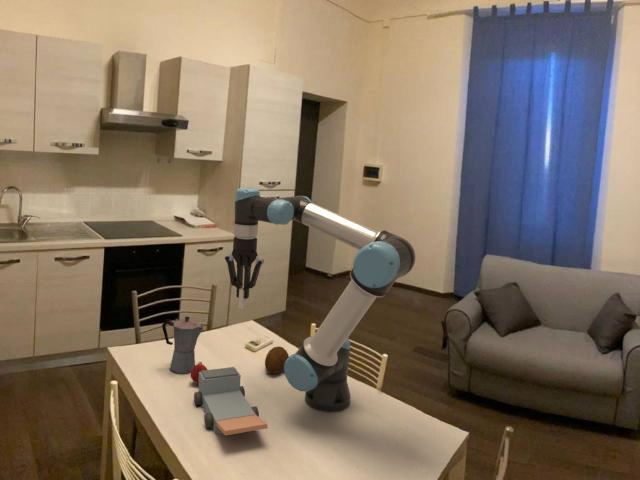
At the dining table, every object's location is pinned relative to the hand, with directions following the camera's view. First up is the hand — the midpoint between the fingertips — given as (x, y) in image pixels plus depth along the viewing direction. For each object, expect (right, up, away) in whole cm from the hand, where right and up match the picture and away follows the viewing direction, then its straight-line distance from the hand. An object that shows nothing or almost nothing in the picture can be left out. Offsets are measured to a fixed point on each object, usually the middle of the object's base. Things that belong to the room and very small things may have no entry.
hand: (242, 307), depth 175 cm
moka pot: (-24, -25, +18) cm, 39 cm away
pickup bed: (-4, -31, -9) cm, 33 cm away
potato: (+9, -26, +23) cm, 36 cm away
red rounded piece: (-16, -27, +8) cm, 33 cm away
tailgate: (+1, -30, -19) cm, 35 cm away
